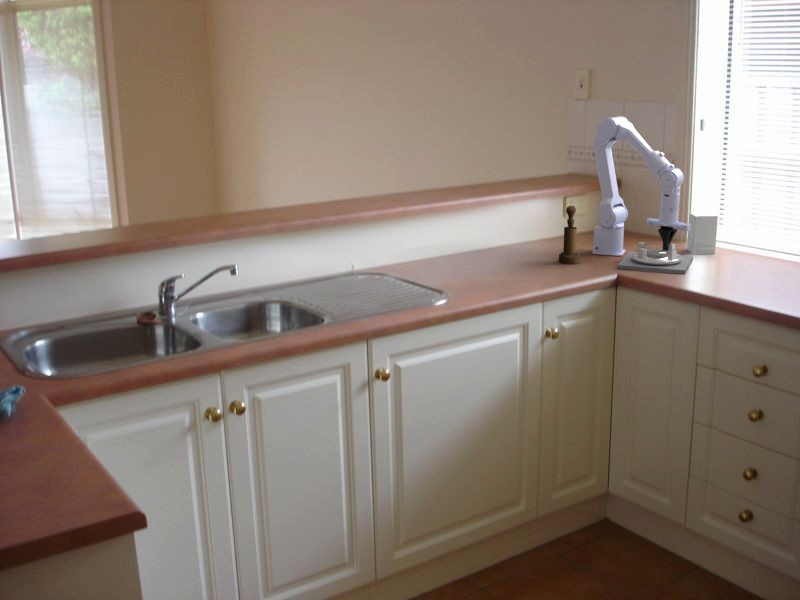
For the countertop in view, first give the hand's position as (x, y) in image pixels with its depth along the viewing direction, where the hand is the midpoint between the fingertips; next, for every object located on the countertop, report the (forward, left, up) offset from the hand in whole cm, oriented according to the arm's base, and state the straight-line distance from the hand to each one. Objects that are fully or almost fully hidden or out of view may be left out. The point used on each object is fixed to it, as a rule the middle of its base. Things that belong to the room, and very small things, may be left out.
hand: (666, 250), depth 299 cm
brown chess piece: (-28, -12, -4) cm, 31 cm away
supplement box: (+9, +17, -4) cm, 20 cm away
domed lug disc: (-2, -6, -2) cm, 6 cm away
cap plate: (-2, -6, -3) cm, 7 cm away
